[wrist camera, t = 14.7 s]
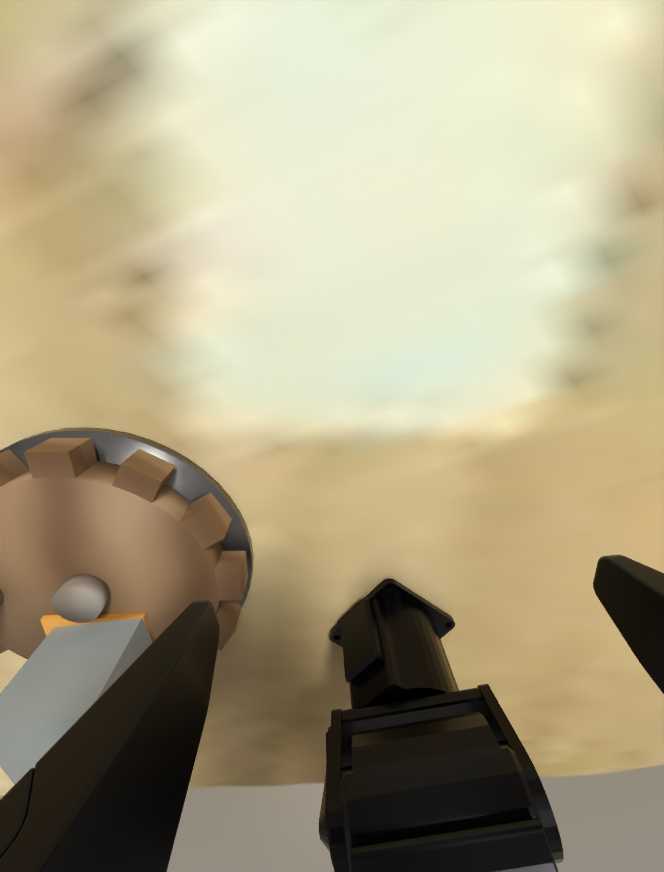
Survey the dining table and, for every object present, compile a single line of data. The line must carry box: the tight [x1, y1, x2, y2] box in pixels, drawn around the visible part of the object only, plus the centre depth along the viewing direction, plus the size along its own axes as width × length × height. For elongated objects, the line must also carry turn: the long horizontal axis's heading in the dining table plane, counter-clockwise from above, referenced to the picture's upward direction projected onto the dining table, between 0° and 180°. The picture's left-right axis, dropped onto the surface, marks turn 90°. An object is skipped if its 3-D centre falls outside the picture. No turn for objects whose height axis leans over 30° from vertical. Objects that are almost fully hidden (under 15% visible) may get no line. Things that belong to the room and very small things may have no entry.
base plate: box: [0, 428, 253, 606], centre depth 22 cm, size 17×17×1 cm
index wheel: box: [0, 438, 248, 659], centre depth 18 cm, size 17×17×6 cm
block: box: [0, 618, 152, 784], centre depth 18 cm, size 5×5×5 cm
